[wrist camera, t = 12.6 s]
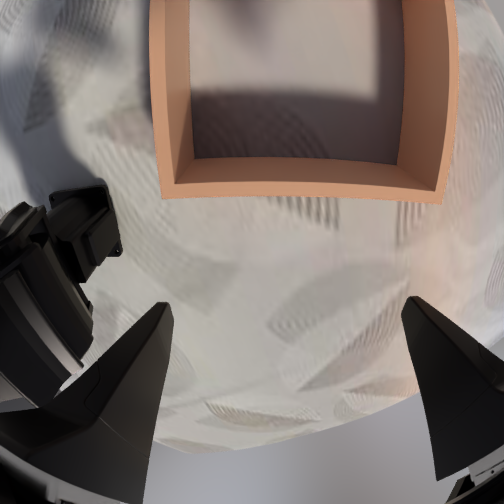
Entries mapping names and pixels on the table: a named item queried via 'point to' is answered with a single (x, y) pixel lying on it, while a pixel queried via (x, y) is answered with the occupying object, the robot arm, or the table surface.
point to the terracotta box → (313, 169)
